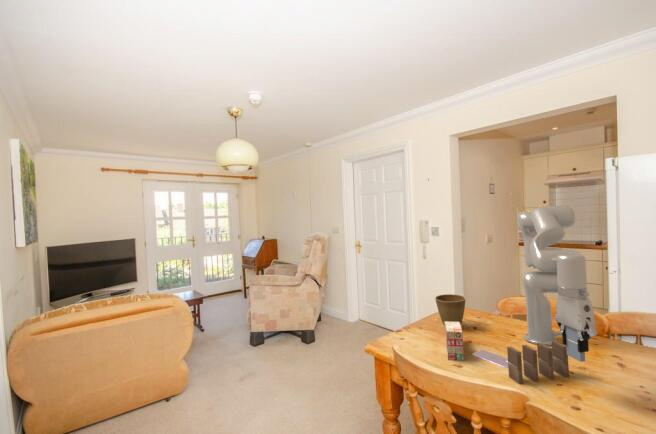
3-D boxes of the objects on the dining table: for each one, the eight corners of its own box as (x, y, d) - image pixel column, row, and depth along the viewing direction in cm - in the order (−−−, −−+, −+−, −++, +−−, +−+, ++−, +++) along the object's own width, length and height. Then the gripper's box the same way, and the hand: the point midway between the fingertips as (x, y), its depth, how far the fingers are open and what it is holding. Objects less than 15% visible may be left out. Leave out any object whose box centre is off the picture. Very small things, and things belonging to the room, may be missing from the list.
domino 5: (571, 354, 105) (569, 321, 105) (585, 361, 100) (583, 326, 100) (566, 354, 105) (565, 321, 105) (580, 361, 100) (578, 327, 100)
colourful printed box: (445, 340, 152) (443, 314, 152) (459, 341, 150) (457, 315, 150) (448, 360, 132) (446, 330, 132) (464, 361, 130) (462, 331, 130)
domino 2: (528, 374, 117) (526, 344, 117) (538, 381, 112) (536, 350, 112) (524, 375, 117) (522, 345, 117) (534, 382, 112) (532, 350, 112)
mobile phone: (482, 348, 139) (516, 361, 126) (482, 350, 139) (516, 363, 126) (470, 353, 135) (505, 366, 122) (471, 355, 135) (505, 368, 122)
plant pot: (445, 321, 178) (443, 292, 178) (472, 327, 167) (470, 296, 167) (431, 328, 168) (429, 298, 168) (459, 335, 157) (457, 303, 157)
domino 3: (542, 372, 117) (541, 342, 117) (554, 379, 112) (552, 348, 113) (538, 373, 117) (536, 343, 117) (549, 379, 112) (547, 348, 112)
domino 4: (557, 370, 118) (555, 341, 118) (569, 377, 113) (567, 346, 113) (553, 371, 118) (551, 341, 118) (565, 377, 113) (563, 346, 113)
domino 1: (513, 376, 116) (511, 346, 116) (523, 383, 111) (521, 352, 111) (508, 377, 116) (507, 346, 116) (518, 384, 111) (516, 352, 111)
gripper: (609, 297, 94) (612, 358, 95) (560, 284, 111) (563, 336, 111) (586, 300, 93) (589, 361, 94) (540, 287, 110) (543, 338, 111)
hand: (575, 347), depth 103 cm, fingers closed on domino 5, 4 cm apart
